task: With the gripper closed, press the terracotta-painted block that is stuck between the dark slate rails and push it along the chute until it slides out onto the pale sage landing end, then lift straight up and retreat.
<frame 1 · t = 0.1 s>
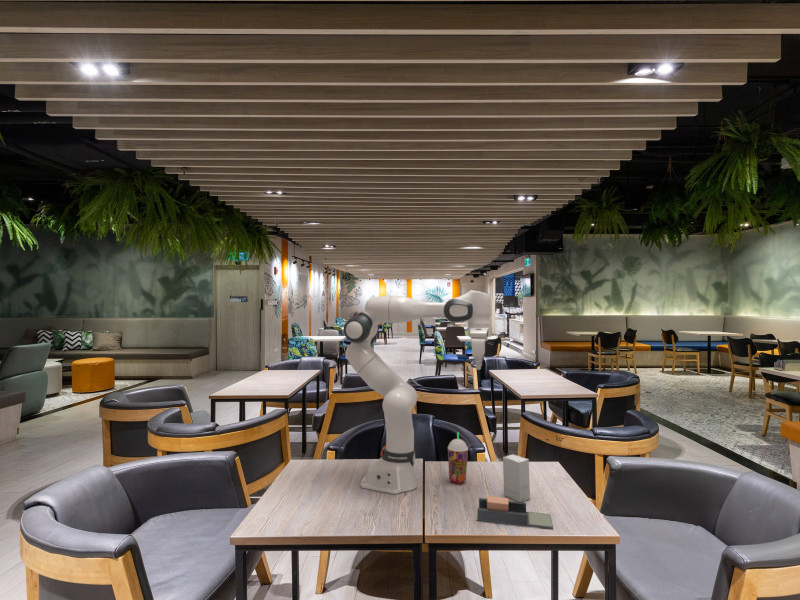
hand: (478, 367, 176), 48 cm above the table, fingers open, 8 cm apart
block: (497, 506, 155), point 3 cm above the table, slide at 0.0 cm
chute: (514, 518, 154), on the table
smoothie: (457, 482, 186), on the table
skincare box: (516, 497, 171), on the table
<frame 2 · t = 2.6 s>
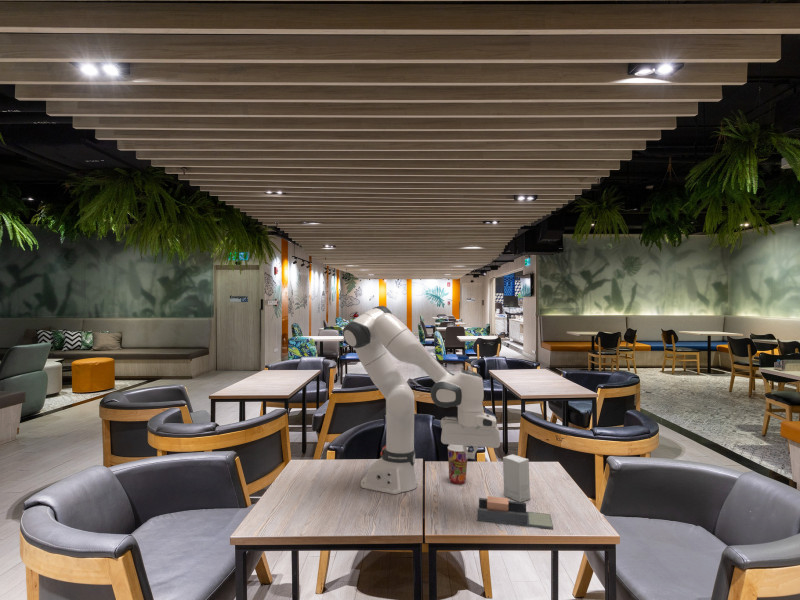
hand: (470, 458, 158), 19 cm above the table, fingers closed
nothing on the table moved.
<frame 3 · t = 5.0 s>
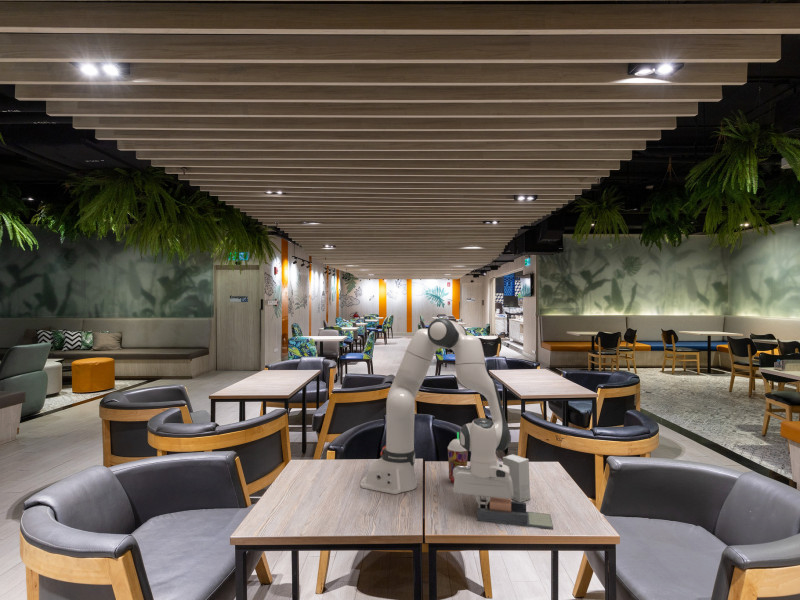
hand: (483, 508, 156), 2 cm above the table, fingers closed
block: (500, 507, 155), point 3 cm above the table, slide at 0.9 cm, touching gripper
everything else where it was.
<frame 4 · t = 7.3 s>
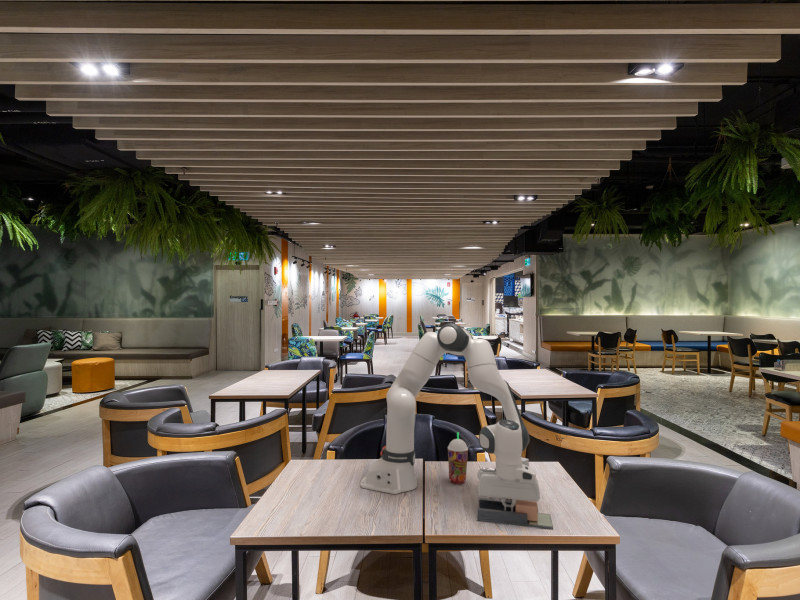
hand: (508, 511, 155), 2 cm above the table, fingers closed
block: (526, 509, 153), point 3 cm above the table, slide at 9.4 cm, touching gripper
everything else where it was.
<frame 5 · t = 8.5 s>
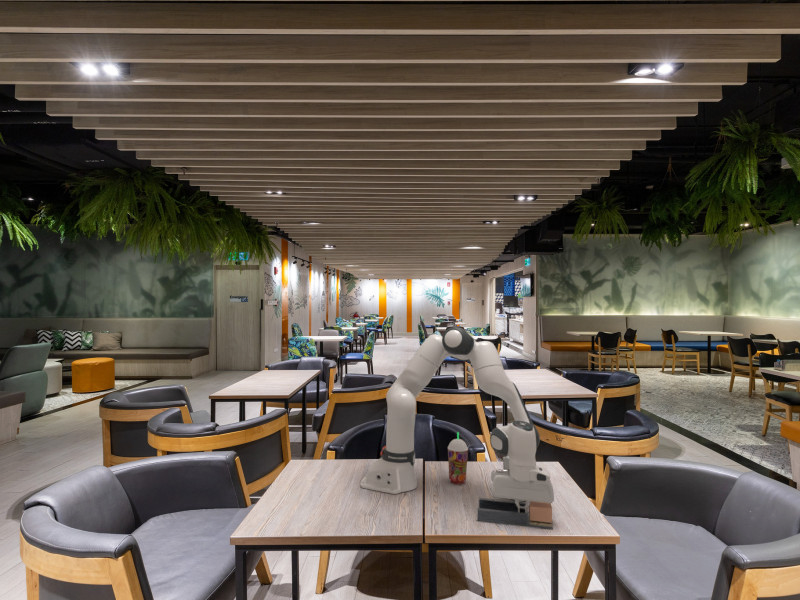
hand: (522, 512, 153), 2 cm above the table, fingers closed
block: (540, 511, 152), point 3 cm above the table, slide at 13.9 cm, touching gripper
everything else where it was.
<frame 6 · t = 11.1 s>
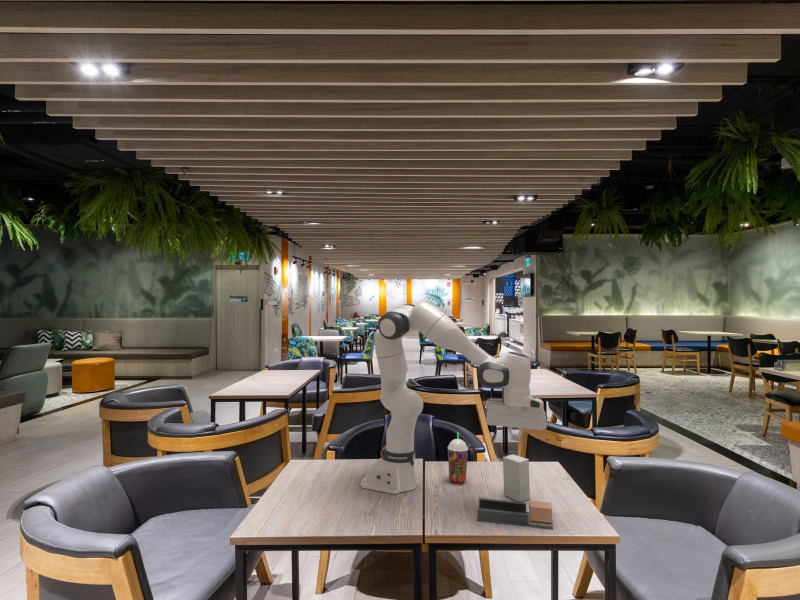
hand: (515, 440, 157), 26 cm above the table, fingers closed
block: (540, 511, 152), point 3 cm above the table, slide at 13.9 cm
everything else where it was.
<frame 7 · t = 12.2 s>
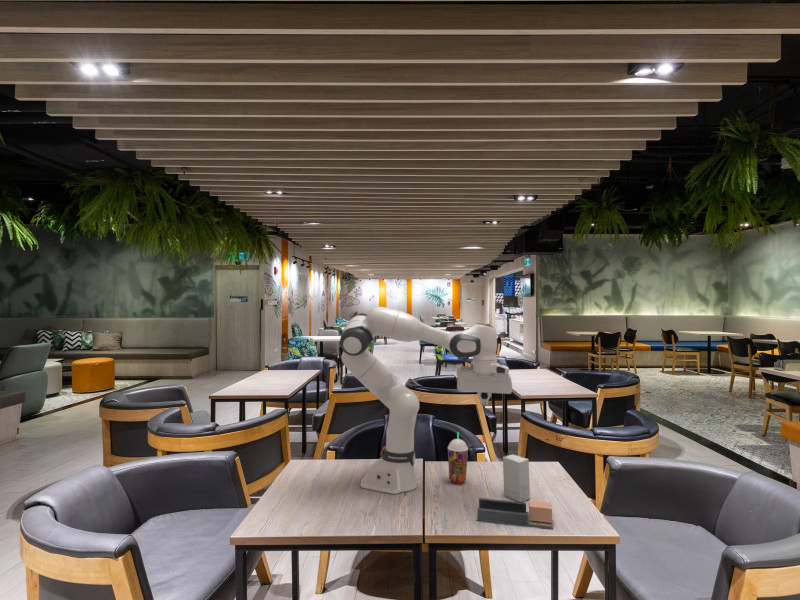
hand: (484, 404, 170), 35 cm above the table, fingers closed
nothing on the table moved.
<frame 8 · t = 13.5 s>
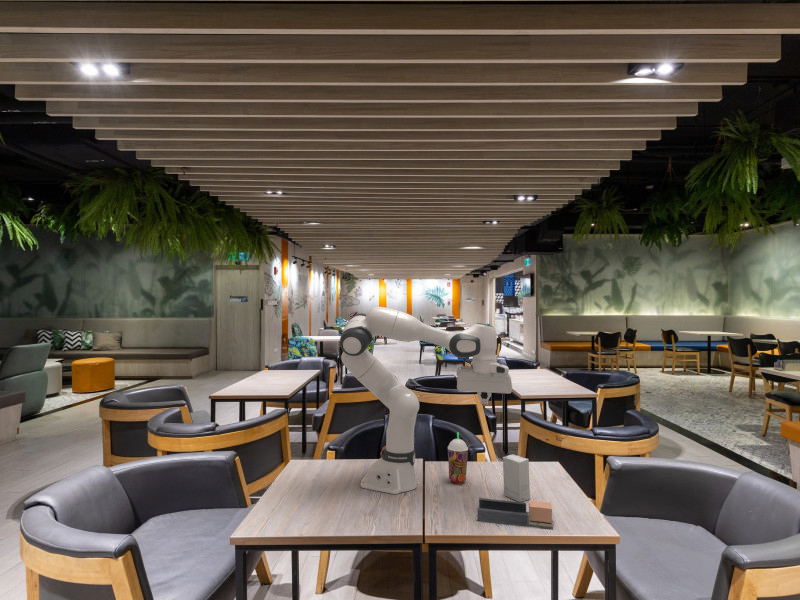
hand: (484, 404, 170), 35 cm above the table, fingers closed
nothing on the table moved.
at the end: block slide at 13.9 cm; block inside the target area (0.1 cm from its centre), resting on chute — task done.
